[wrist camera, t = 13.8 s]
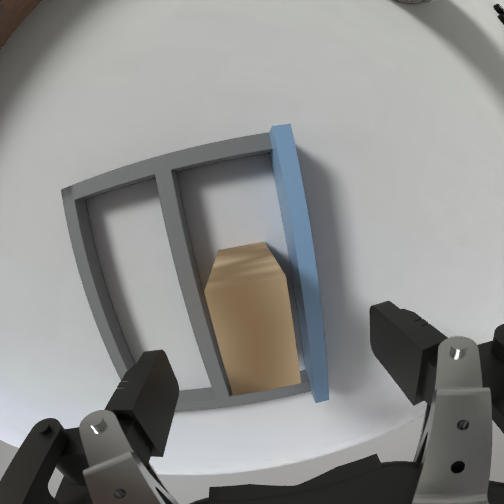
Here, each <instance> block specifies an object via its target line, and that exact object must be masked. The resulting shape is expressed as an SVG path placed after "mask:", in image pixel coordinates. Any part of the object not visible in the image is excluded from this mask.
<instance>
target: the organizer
mask: <svg viewBox="0 0 504 504" xmlns="http://www.w3.org/2000/svg"><path fill="white" fill-rule="evenodd" d="M265 153H270V157H271V162H272V167H273V172H274V177H275V183H276V188H277V193H278V198H279V203H280V209H281V214H282V220H283V225H284V231H285V237H286V242H287V248H288V254H289V260H290V266H291V272H292V278H293V285H294V291H295V298H296V304H297V311H298V318H299V325H300V332H301V339H302V346H303V354H304V361H305V369H306V370H304V371H300V378H301V383H299V384H294V385H290V386H285V387H280V388H275V389H270V390H265V391H259V392H253V393H247V394H241V395H234V396H233V393H232V390H231V387H230V384H229V381H228V378H227V375H226V372H225V368H224V365H223V362H222V358H221V355H220V352H219V348H218V345H217V341H216V338H215V334H214V331H213V327H212V324H211V320H210V316H209V313H208V309H207V305H206V302H205V298H204V294H203V290H202V286H201V282H200V278H199V274H198V270H197V266H196V262H195V258H194V253H193V249H192V245H191V241H190V236H189V232H188V227H187V223H186V218H185V213H184V208H183V204H182V199H181V194H180V189H179V184H178V178H177V173H176V172H178V171H182V170H186V169H190V168H195V167H199V166H203V165H208V164H213V163H217V162H222V161H227V160H232V159H237V158H242V157H248V156H253V155H259V154H265ZM155 177H156V182H157V188H158V193H159V198H160V203H161V208H162V212H163V217H164V222H165V226H166V231H167V235H168V239H169V244H170V248H171V252H172V256H173V260H174V264H175V268H176V272H177V276H178V280H179V283H180V287H181V291H182V294H183V298H184V301H185V305H186V308H187V312H188V315H189V319H190V322H191V325H192V328H193V332H194V335H195V338H196V341H197V344H198V347H199V351H200V354H201V357H202V360H203V363H204V366H205V368H206V371H207V374H208V377H209V380H210V383H211V386H212V388H203V389H194V390H184V391H179V397H178V401H177V405H176V408H175V412H178V411H192V410H203V409H213V408H222V407H229V406H237V405H243V404H250V403H256V402H261V401H267V400H272V399H277V398H282V397H287V396H291V395H296V394H300V393H304V392H308V391H311V392H312V395H313V397H314V400H315V403H318V402H322V401H326V400H329V389H328V374H327V360H326V348H325V337H324V327H323V317H322V308H321V299H320V291H319V283H318V275H317V268H316V260H315V253H314V247H313V240H312V234H311V227H310V221H309V215H308V209H307V204H306V198H305V192H304V187H303V182H302V176H301V171H300V166H299V161H298V156H297V151H296V147H295V142H294V137H293V133H292V128H291V124H285V125H277V126H272V128H271V130H270V132H269V133H263V134H257V135H251V136H245V137H240V138H234V139H229V140H224V141H219V142H214V143H210V144H205V145H201V146H196V147H192V148H188V149H184V150H180V151H176V152H172V153H168V154H165V155H161V156H157V157H154V158H150V159H147V160H144V161H140V162H137V163H134V164H131V165H127V166H124V167H121V168H118V169H115V170H112V171H109V172H106V173H104V174H101V175H98V176H95V177H92V178H90V179H87V180H84V181H82V182H79V183H77V184H74V185H72V186H69V187H67V188H64V189H62V190H61V192H62V199H63V205H64V210H65V216H66V221H67V226H68V230H69V235H70V239H71V243H72V248H73V252H74V255H75V259H76V263H77V267H78V270H79V274H80V277H81V280H82V284H83V287H84V290H85V293H86V296H87V299H88V302H89V305H90V308H91V311H92V313H93V316H94V319H95V322H96V324H97V327H98V329H99V332H100V334H101V337H102V339H103V342H104V344H105V347H106V349H107V351H108V353H109V356H110V358H111V360H112V362H113V365H114V367H115V369H116V371H117V373H118V375H119V377H120V379H121V380H122V378H123V376H124V375H125V373H126V372H127V371H128V370H129V369H130V368H131V367H132V366H134V365H135V363H134V360H133V358H132V356H131V353H130V351H129V348H128V346H127V344H126V341H125V338H124V336H123V333H122V331H121V328H120V325H119V323H118V320H117V317H116V314H115V312H114V309H113V306H112V303H111V300H110V297H109V294H108V290H107V287H106V284H105V281H104V277H103V274H102V270H101V267H100V263H99V260H98V256H97V252H96V248H95V244H94V240H93V235H92V231H91V227H90V222H89V217H88V212H87V207H86V201H85V199H88V198H90V197H93V196H96V195H99V194H102V193H105V192H108V191H111V190H115V189H118V188H121V187H124V186H127V185H131V184H134V183H138V182H141V181H144V180H148V179H152V178H155Z"/></svg>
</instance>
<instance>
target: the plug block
mask: <svg viewBox="0 0 504 504" xmlns="http://www.w3.org/2000/svg"><path fill="white" fill-rule="evenodd" d="M204 293H205V297H206V301H207V305H208V309H209V312H210V316H211V320H212V324H213V328H214V331H215V335H216V339H217V342H218V346H219V349H220V353H221V356H222V360H223V363H224V367H225V370H226V373H227V377H228V380H229V383H230V387H231V390H232V393H233V396H234V395H241V394H247V393H253V392H259V391H265V390H270V389H275V388H280V387H285V386H290V385H294V384H299V383H301V378H300V371H299V363H298V355H297V348H296V341H295V334H294V327H293V320H292V313H291V306H290V300H289V293H288V287H287V280H286V276H285V274H284V272H283V271H282V269H281V267H280V266H279V264H278V263H277V261H276V259H275V258H274V256H273V254H272V253H271V251H270V250H269V248H268V246H267V245H266V243H265V242H260V243H255V244H249V245H244V246H239V247H234V248H229V249H224V250H218V253H217V256H216V259H215V262H214V265H213V267H212V270H211V273H210V276H209V279H208V282H207V285H206V288H205V291H204Z"/></svg>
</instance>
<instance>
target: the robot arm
mask: <svg viewBox="0 0 504 504" xmlns="http://www.w3.org/2000/svg"><path fill="white" fill-rule="evenodd" d="M398 1H401V2H405V3H410V4H415V3H419V2H421V1H422V0H398ZM425 1H428V2H430V1H431V0H425ZM370 343H371V348H372V351H373V353H374V355H375V356H376V357H377V359H378V360H379V361H380V363H381V364H382V365H383V366H384V368H385V369H386V370H387V372H388V373H389V374H390V375H391V377H392V378H393V379H394V381H395V382H396V383H397V384H398V386H399V387H400V388H401V390H402V391H403V392H404V394H405V395H406V396H407V398H408V399H409V400H410V402H411V403H412V404H413V405H416V404H418V403H420V402H422V401H424V400H425V401H426V403H427V407H426V411H425V416H424V421H423V426H422V431H421V435H420V440H419V444H418V447H417V451H416V454H415V457H414V461H413V462H408V461H392V462H383V463H381V462H380V460H379V458H378V456H377V454H374V455H371V456H369V457H366V458H363V459H360V460H357V461H354V462H351V463H348V464H345V465H342V466H338V467H336V468H334V469H332V470H330V471H328V472H326V473H324V474H322V475H320V476H317V477H315V478H313V479H311V480H309V481H307V482H304V483H302V484H299V485H296V486H270V485H269V486H268V485H254V484H248V485H237V486H223V487H210V489H209V497H208V498H204V499H201V500H198V501H195V502H193V503H190V504H504V483H500V482H495V481H489V477H490V467H491V454H492V420H493V421H494V422H495V423H496V424H497V426H498V427H499V428H500V429H501V431H502V432H503V433H504V324H502V325H500V326H498V327H497V328H496V330H495V333H494V337H493V341H490V342H486V343H483V344H479V345H477V344H476V343H475V342H474V341H473V340H471V339H469V338H466V337H460V336H457V337H451V338H447V337H446V336H445V335H443V334H442V333H441V332H440V331H438V330H437V329H436V328H434V327H433V326H432V325H430V324H428V322H426V321H425V320H424V319H422V318H421V317H420V316H418V315H417V314H416V313H414V312H412V311H409V310H406V309H399V308H398V307H397V306H396V305H394V304H393V303H392V302H390V301H386V302H383V303H379V304H376V305H373V306H371V307H370ZM178 397H179V386H178V382H177V379H176V377H175V375H174V372H173V370H172V368H171V365H170V363H169V360H168V358H167V356H166V353H165V352H164V351H163V350H155V351H146V352H143V354H142V356H141V357H140V359H139V361H138V363H137V365H134V366H132V367H131V368H130V369H129V370H128V371H127V372H126V373H125V375H124V376H123V378H122V380H121V382H120V383H119V385H118V387H117V389H116V390H115V392H114V394H113V395H112V397H111V399H110V401H109V403H108V404H107V406H106V408H105V410H99V411H95V412H93V413H90V414H89V415H87V416H86V417H85V418H84V419H83V420H82V421H81V423H80V426H79V427H78V428H71V429H64V428H63V427H62V425H61V424H60V422H59V421H58V420H56V419H54V418H47V419H44V420H42V421H40V422H38V423H37V424H36V425H35V426H34V427H33V428H32V430H31V431H30V433H29V434H28V436H27V437H26V439H25V440H24V442H23V444H22V445H21V447H20V448H19V450H18V452H17V453H16V455H15V457H14V458H13V460H12V462H11V463H10V465H9V467H8V468H7V470H6V472H5V474H4V476H3V477H2V479H1V481H0V504H179V503H178V502H177V501H176V500H175V499H174V497H173V496H172V494H171V493H170V492H169V490H168V489H167V488H166V486H165V485H164V483H163V482H162V480H161V479H160V478H159V476H158V475H157V473H156V472H155V470H154V468H153V467H152V466H151V464H150V463H149V460H150V457H151V456H155V457H163V455H164V451H165V447H166V443H167V439H168V435H169V431H170V427H171V423H172V419H173V416H174V412H175V408H176V405H177V401H178ZM55 467H56V468H57V469H58V470H59V471H60V472H61V473H62V474H63V475H64V477H63V479H62V482H61V484H60V486H59V489H58V491H57V494H56V496H55V499H54V498H53V497H52V496H51V494H50V493H49V490H48V482H49V480H50V478H51V476H52V473H53V471H54V469H55Z"/></svg>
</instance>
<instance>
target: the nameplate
mask: <svg viewBox="0 0 504 504" xmlns="http://www.w3.org/2000/svg"><path fill="white" fill-rule="evenodd" d="M493 7H494V9H495V10H496V11H497V12H498V13H500V14H501V15H499V16H498V18H499V19H500V21H501V22H502V23H503V24H504V9H503V8H502V7H501V6H500V5H499V4H496V5H494V6H493Z"/></svg>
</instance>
